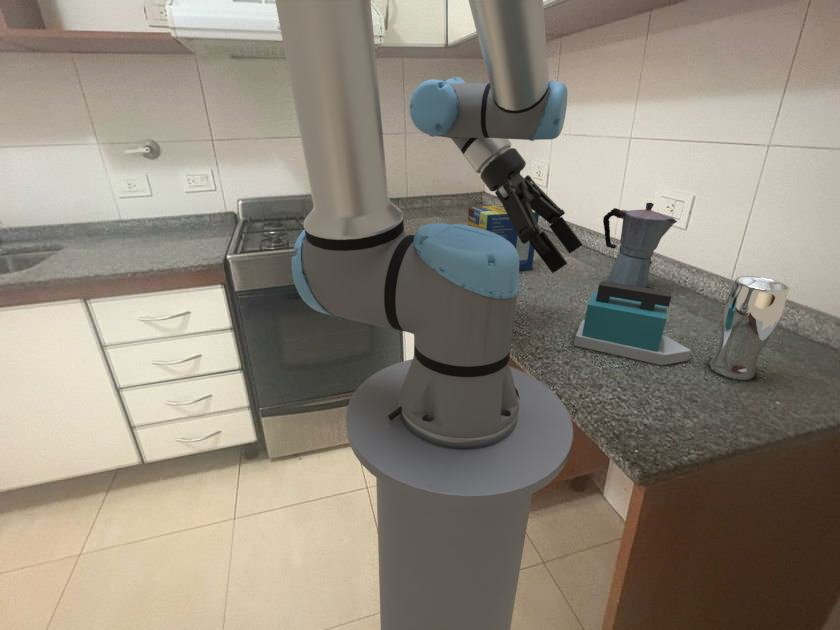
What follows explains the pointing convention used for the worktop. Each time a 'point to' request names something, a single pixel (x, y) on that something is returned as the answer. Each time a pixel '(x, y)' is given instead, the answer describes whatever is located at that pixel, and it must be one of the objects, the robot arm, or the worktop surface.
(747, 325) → the beer glass
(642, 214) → the moka pot
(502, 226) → the protein box
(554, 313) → the worktop surface
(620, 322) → the teal slab with bar
